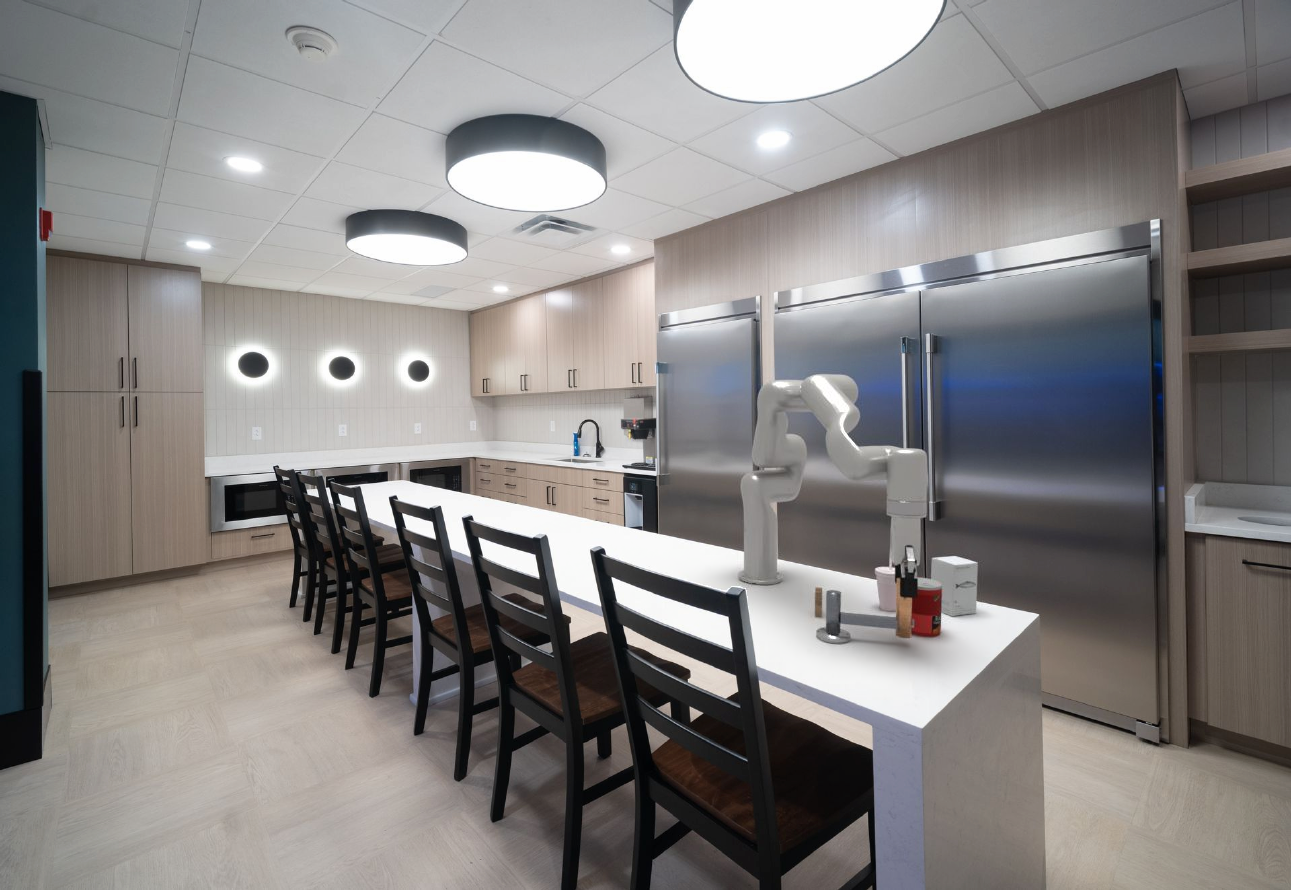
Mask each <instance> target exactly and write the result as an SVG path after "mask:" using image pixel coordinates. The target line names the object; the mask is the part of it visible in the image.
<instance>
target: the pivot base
mask: <svg viewBox="0 0 1291 890" xmlns="http://www.w3.org/2000/svg"><path fill="white" fill-rule="evenodd" d="M815 637H816V638H817V640H819V641H821V642H823V643H827V644H830V645H831V644H832V645H833V644H834V645H842V644H843V645H844V644H846V643H847V644H848V643H849V642H850V641H851V634H850V632H849V631H848V630H846V629H844V628H840V634H829V633H827V632H826V626H824V627H820V628H818V629H816V633H815Z"/></svg>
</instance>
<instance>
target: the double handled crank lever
mask: <svg viewBox="0 0 1291 890" xmlns="http://www.w3.org/2000/svg"><path fill="white" fill-rule="evenodd" d="M825 595H826V597H825V599H826V600H825V601H826V602H825V603H826V605H825V627H826V632H827V633H829V634H840V629H841V625H848V626H849V625H850V626H860V627H872V628H879V629H888V630H889V629H891V630H895V636H896V637H897V638H901V639H911V638H912V634H911V624H912V598H907V597H901V596H900V577H898V578H897V590H896V610H895V616H887V615H876V614H866V613H854V612H845V611H844V612H843V611H842V592H841V591H839V590H835V589H828V590H826V594H825Z"/></svg>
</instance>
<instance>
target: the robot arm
mask: <svg viewBox="0 0 1291 890" xmlns="http://www.w3.org/2000/svg"><path fill="white" fill-rule="evenodd" d="M858 398H859V388H858V385H857V383H856V382H855V380H854V379H853V378H852V377H850V375H849V376H848V375H846V374H831V373H820V374H813V375H811V376H808V377H806V378H804V379H802V380H801V379H778V380H777V379H776V380H771V381H768V382H765V384H763V385H762V386H761V388H760V390H759V392H758V394H757V400H756V403H757V404H756V405H757V406H756V407H757V419H756V420H757V421H756V425H755V432H754V436H753V443H752V449H751V460H752V463H753V464H754V465H755V466H756V467H758V468H763V469H759V470H752V471H749V472H747V473H745V474H744V475H743V476H742V477H741V481H740V493H741V499H742V503H743V504H742V506H743V570H741V571H739V573H738V574H737V575H738V579H739V580H740V581H741V582H744V581H745V583H747V582H748V584H752V583H756V584H755V585H763V586H764V585H767V586H768V585H775V584H779V583H781V582H782V581H783V577H784V576H783V575H782V573H780V572H778V517H777V514H776V512H775V511H774V509H773V507H772V504H773V503H783V502H790V501H793V500H795V499H796V498H797V497H798V496H799V494H800V490H801V487H802V482H803V477H804V473H805V469H806V468H805V467H806V465H807V464H806V463H807V458H808V451H807V450H808V449H807V444H806V442H805V440H804V439H803V438H802V437H801V436H800V435H797V434H794V433H788V427H789V419H788V416H787V413H812V414H813V415H814V416H815V417H816V418H817V420H818V421H819V422H820V424H821V425H822V426H823V427H824V429H825V431H826V434H825V447H826V452H827V455H828V457H829V459H830V460H831V462H832V463H833V465H835V467H836V468H837V469H838V471H840V473H841V474H842V475H843V476H844V477H846V478H847V479H848V480H851V481H853V482H856V483H857V482H858V483H860V482H862V483H863V482H875V481H877V482H879V481H881V482H882V481H886V515H887V516H889V517H891V519H890V537H889V538H890V540H889V545H890V546H889V547H890V548H889V557H890V558H891V560H892V565H894V568H895V583H896V584H897V578H898V577H900V596H901V597H907V598H917V597H918V578H917V577H918V571H917V570H918V569H917V567H918V566H920V563H921V562H920V561H921V533H922V532H921V530H922V529H921V519H923V518H926V517H927V513H928V512H927V511H928V510H927V508H928V507H927V504H928V503H927V495H928V494H927V493H928V489H927V487H928V485H927V484H928V481H927V480H928V479H927V478H928V456H927V455H928V454H927V452H926V451H924V450H923V449H920V448H910V447H909V448H908V447H907V448H905V447H903V448H902V447H898V446H893V445H869V446H868V445H867V446H864V445H863V446H862V445H861V446H859V445H857V444H856V443H855V442H854V440H852V438H851V437H850V436H849V435H848V434H849V433H850V432H851V431H853V430H854V429H855V428H856V426H857V425H858V423H859V421H860V420H861V413H860V410H859V408H858V407H857V406H856V405H855V403H856V402H857V400H858ZM778 468H779V469H778Z"/></svg>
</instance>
